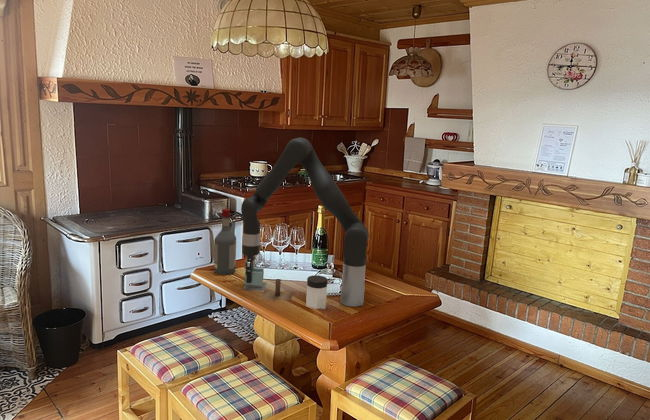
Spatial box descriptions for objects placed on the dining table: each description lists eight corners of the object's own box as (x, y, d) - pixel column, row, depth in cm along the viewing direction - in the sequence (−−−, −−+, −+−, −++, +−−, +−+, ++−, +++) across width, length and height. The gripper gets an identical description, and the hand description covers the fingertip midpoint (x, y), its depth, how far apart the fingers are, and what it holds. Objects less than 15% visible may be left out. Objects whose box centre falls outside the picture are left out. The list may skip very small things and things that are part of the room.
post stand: (292, 294, 210) (293, 276, 208) (291, 302, 201) (292, 284, 199) (264, 292, 209) (264, 275, 208) (261, 301, 201) (262, 282, 199)
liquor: (236, 268, 236) (237, 208, 230) (232, 275, 227) (234, 212, 221) (217, 267, 236) (218, 207, 230) (213, 274, 227) (213, 211, 221)
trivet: (266, 284, 219) (266, 282, 218) (264, 292, 210) (264, 289, 210) (246, 283, 218) (246, 281, 218) (243, 291, 210) (243, 288, 209)
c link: (245, 284, 210) (245, 272, 209) (246, 279, 216) (247, 267, 215) (261, 285, 211) (262, 273, 209) (263, 280, 216) (263, 268, 215)
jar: (311, 312, 193) (313, 283, 190) (301, 304, 200) (302, 277, 197) (330, 308, 198) (332, 280, 195) (319, 301, 205) (321, 273, 202)
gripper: (258, 248, 203) (256, 286, 206) (261, 238, 217) (260, 274, 220) (239, 247, 202) (238, 285, 206) (244, 237, 217) (243, 273, 220)
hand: (250, 279), depth 213 cm, fingers closed on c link, 6 cm apart
